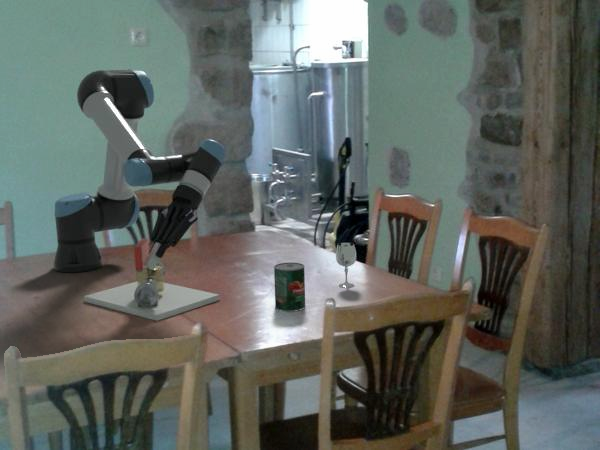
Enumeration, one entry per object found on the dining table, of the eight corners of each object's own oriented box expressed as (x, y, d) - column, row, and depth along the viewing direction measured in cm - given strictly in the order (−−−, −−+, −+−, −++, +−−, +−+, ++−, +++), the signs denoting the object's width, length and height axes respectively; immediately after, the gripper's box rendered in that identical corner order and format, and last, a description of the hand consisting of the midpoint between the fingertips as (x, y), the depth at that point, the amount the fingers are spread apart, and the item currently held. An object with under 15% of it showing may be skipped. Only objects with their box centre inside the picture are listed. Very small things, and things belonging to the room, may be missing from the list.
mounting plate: (84, 301, 215) (83, 296, 214) (146, 283, 231) (146, 278, 231) (157, 320, 196) (156, 315, 196) (219, 300, 213) (219, 294, 212)
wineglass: (355, 288, 220) (354, 246, 218) (334, 288, 221) (334, 246, 219) (357, 283, 226) (357, 242, 224) (338, 282, 227) (337, 242, 225)
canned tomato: (302, 312, 200) (301, 270, 198) (272, 311, 202) (271, 269, 199) (307, 303, 208) (306, 262, 206) (278, 302, 209) (277, 262, 207)
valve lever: (143, 260, 213) (141, 234, 212) (156, 260, 213) (155, 234, 212) (132, 275, 198) (130, 247, 196) (146, 275, 198) (144, 246, 196)
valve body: (142, 283, 226) (140, 253, 224) (167, 282, 226) (165, 252, 225) (133, 310, 200) (130, 275, 198) (160, 308, 201) (158, 274, 199)
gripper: (216, 201, 207) (175, 277, 198) (181, 198, 215) (140, 271, 205) (200, 184, 202) (157, 262, 192) (165, 181, 210) (122, 256, 200)
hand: (148, 267), depth 199 cm, fingers closed
